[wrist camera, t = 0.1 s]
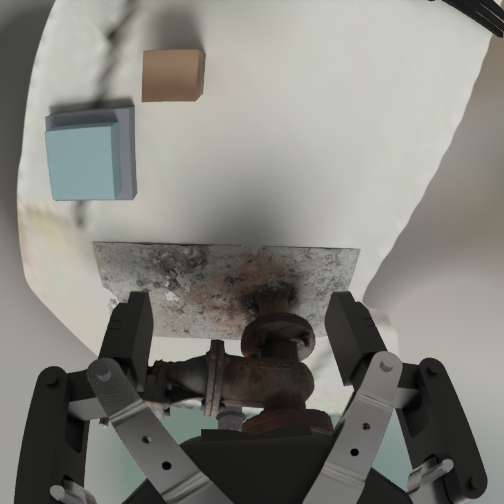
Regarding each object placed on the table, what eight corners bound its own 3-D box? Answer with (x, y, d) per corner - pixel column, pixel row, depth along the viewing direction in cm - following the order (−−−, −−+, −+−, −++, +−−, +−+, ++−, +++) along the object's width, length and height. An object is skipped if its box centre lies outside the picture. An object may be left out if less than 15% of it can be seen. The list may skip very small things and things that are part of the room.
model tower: (257, 387, 68) (272, 509, 43) (240, 408, 73) (248, 516, 48) (218, 381, 65) (223, 509, 40) (204, 402, 70) (205, 515, 45)
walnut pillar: (164, 54, 31) (143, 50, 22) (205, 54, 31) (198, 49, 23) (162, 93, 33) (141, 102, 25) (202, 93, 34) (195, 101, 25)
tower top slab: (56, 126, 31) (44, 132, 29) (118, 121, 32) (110, 126, 30) (62, 190, 36) (53, 199, 34) (121, 190, 37) (114, 199, 35)
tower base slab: (55, 112, 33) (45, 117, 30) (135, 105, 34) (129, 108, 32) (64, 192, 39) (55, 200, 37) (138, 191, 41) (133, 200, 38)
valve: (116, 330, 55) (80, 564, 18) (92, 242, 44) (-7, 554, 7) (330, 333, 60) (391, 553, 23) (360, 248, 48) (486, 531, 12)
